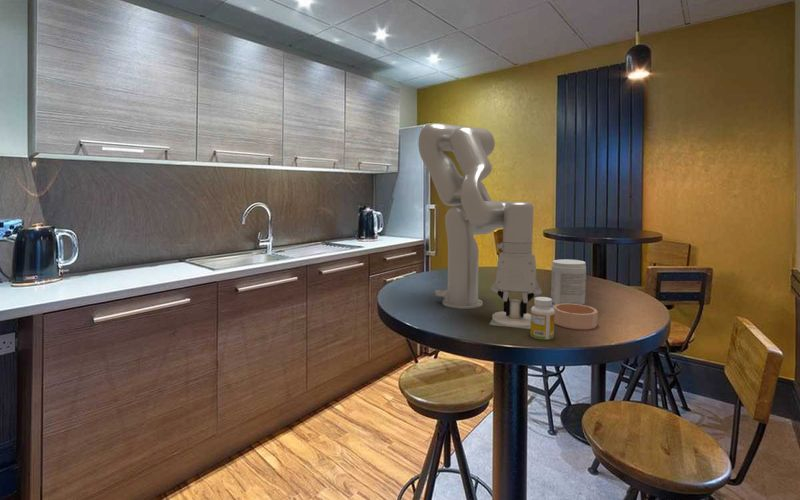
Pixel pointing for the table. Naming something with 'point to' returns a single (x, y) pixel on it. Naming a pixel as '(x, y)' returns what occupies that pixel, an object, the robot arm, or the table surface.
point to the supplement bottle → (542, 318)
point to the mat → (503, 325)
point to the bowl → (575, 316)
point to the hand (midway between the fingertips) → (514, 314)
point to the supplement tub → (568, 282)
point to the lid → (513, 316)
